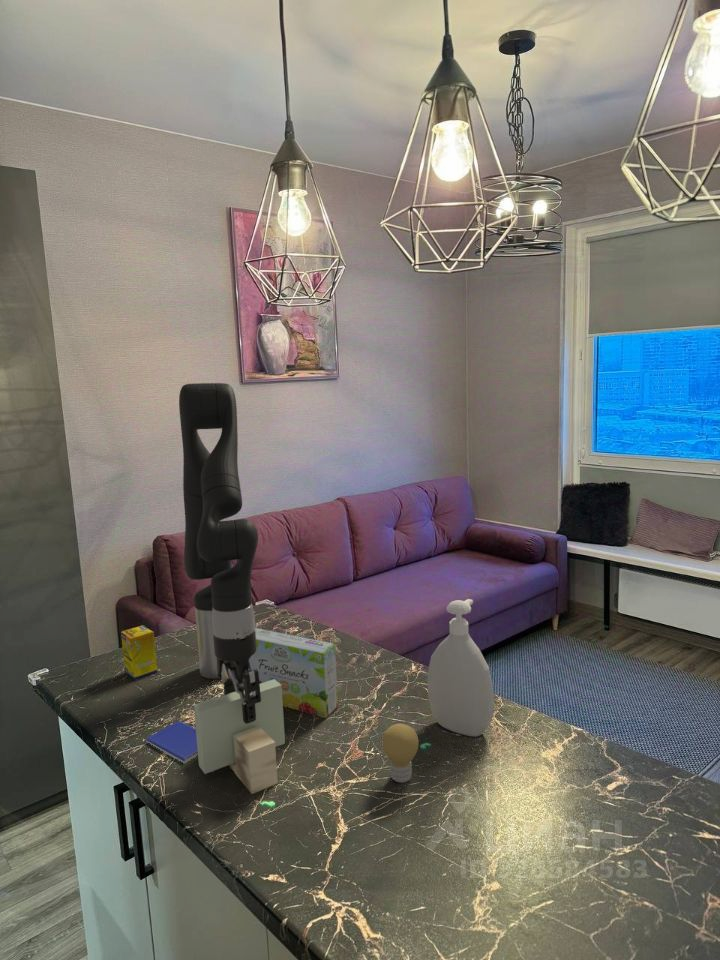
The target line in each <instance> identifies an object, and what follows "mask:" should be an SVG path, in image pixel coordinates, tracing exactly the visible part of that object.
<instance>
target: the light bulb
mask: <svg viewBox="0 0 720 960" xmlns="http://www.w3.org/2000/svg"><path fill="white" fill-rule="evenodd" d="M381 746H382V750H383V752H384V754H385V756H387V758H388V759H389V761H390V777H391V779H392V780H393V781H395V782H396V783H400V784H401V783H402V784H403V783H406V782H408V781H410V780H411V778H412V760H413V758H414V757H415V756H416V754H417V752H418V749H419V737H418V734H417V732H416V731H415V729H414V728H413V727H411V726H410V725H408V724H406V723H405V724H404V723H396V724H392V725H390V726H389V727H388V728H387V729H386V730H385V732H384V733H383V735H382V740H381Z"/></svg>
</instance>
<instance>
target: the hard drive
mask: <svg viewBox="0 0 720 960" xmlns="http://www.w3.org/2000/svg"><path fill="white" fill-rule="evenodd" d="M145 740H146V743H147V742H148V743H150V744H151V746H152V745H153V746H152V747H154V746H155V747H156V748H155V747H154V748H155V749H157V748H158V749H157V750H159V749H160V750H159V751H161V752H162V751H163V752H162V753H164V752H165V753H164V754H167V755H168V756H170V757H171V756H172V757H171V758H174V759H175V758H176V760H177V759H178V760H177V761H179V762H180V761H181V763H182V762H183V764H184V765H186V764H187V763H189V762H190V761H192V760H193V758H194V759H195V758H197V757H198V756H197V755H198V748H197V737H196V727H193V726H190V725H188V724H186V723H184V722H182V721H181V720H178V721H176V722H174V723H172V724H171V725H168V726H166V727H165V728H163V729H160V730H159V731H156V733H153V734H151V735H150V736H148V737H147V738H146V739H145ZM148 743H147V744H148ZM150 744H149V745H150ZM196 756H197V757H196ZM191 759H192V760H191ZM188 761H189V762H188Z"/></svg>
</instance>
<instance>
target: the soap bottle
mask: <svg viewBox="0 0 720 960" xmlns="http://www.w3.org/2000/svg"><path fill="white" fill-rule="evenodd" d="M473 604H474V599H470V598H467V599H465V600H462V599H461V600H459V599H456V600H453V601H451V602H450V603H448V605H447V606H446V609H445V610H446V612H447V613H449V614H452V615H455V617H454V618H451V620H450V621H449V622H448V623H449V624H448V625H449V634H448V636H446V637H445V639H443V640H442V641H441V642H440V643H439V645H438V646H437V648H436V649H435V651H433V653H432V655H431V656H430V661H429V665H428V669H427V670H428V671H427V696H428V701H429V707H430V710H431V712H432V715H433V716H434V719H435V721H436V722H437V723H438V724H439V726H441V727H443V728H444V729H446V730H448V731H451V732H454V733H456V734H458V735H459V734H460V735H462V736H468V737H479V736H481V735H483V734H484V733H485V732H486V731H487V729H488V727H490V725H491V722H492V720H493V719H492V718H493V715H494V708H495V707H494V704H495V697H494V689H493V681H492V676H491V672H490V667H489V665H488V663H487V662H486V661H487V660H486V659H485V658H484V655H483V653H482V651H481V650H480V648H479V647H478V645H477V644H476V642H475V641H474V640H473V639H472V637H471V636H470V633H469V622H468V620H467V619H466V618H464V617H462V616H463V615H467V614H470V613H471V611H472V607H471V606H472V605H473Z"/></svg>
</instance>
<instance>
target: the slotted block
mask: <svg viewBox="0 0 720 960" xmlns="http://www.w3.org/2000/svg"><path fill="white" fill-rule="evenodd" d="M233 736H234V749H235V763H232V764H230V765H228V766H230V767H229V768H230V769H231V770H232V771H234V772H233V773H234V774H235V775H236V777H237V778H238V779H239V780H240V782H241V783H242V784H243V785H244V787H245V788H246V790H248V791H249V792H250V794H251V795H253V794H256V793H258V792H261V791H262V790H265V789H268V788H271V787H272V786H275V785H277V784H278V767H277V752H276V751H277V750H276V747H275V742H274V741H273V740H272V739H271V738H270V737H269V736H268V735H267V734H266V733H265V732H264V731H263V730H262V729H261V727H260V726H257V727H254V728H251V729H248V730H246V731H243V732H240V733H237V734H234V735H233Z"/></svg>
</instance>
